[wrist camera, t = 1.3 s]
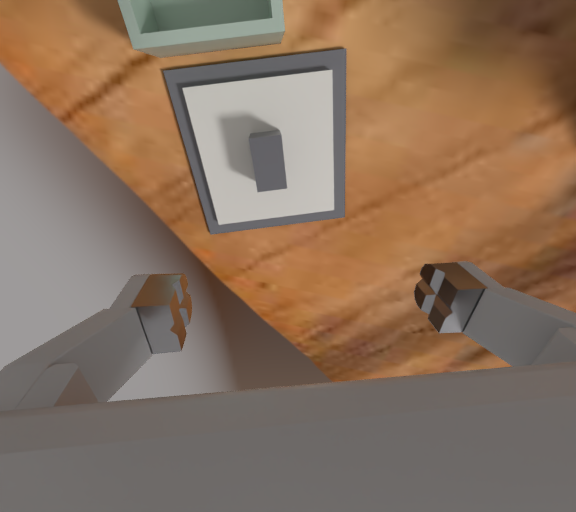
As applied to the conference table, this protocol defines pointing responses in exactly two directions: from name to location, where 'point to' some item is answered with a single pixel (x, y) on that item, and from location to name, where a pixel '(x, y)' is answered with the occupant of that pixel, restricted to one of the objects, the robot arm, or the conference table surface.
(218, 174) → the lid
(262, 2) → the pale green open box
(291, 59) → the mat
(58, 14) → the conference table surface
